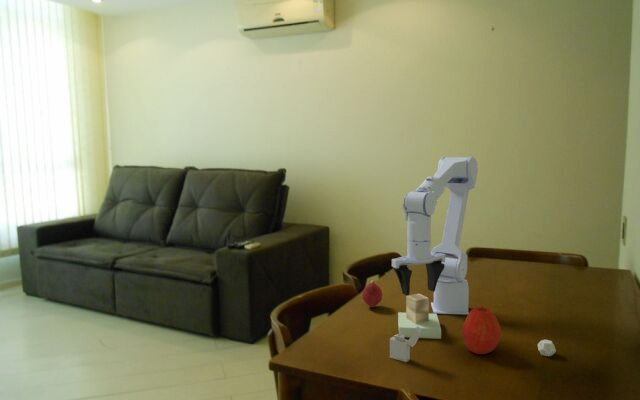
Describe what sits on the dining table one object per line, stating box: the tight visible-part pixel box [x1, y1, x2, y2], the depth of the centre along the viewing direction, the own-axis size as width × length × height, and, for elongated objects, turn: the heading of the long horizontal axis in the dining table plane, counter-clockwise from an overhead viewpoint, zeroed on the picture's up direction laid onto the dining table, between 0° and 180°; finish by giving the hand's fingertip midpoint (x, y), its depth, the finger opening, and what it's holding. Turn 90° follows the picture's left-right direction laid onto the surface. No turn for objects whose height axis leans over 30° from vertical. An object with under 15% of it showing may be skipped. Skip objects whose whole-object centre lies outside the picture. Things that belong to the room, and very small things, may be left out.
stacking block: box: [397, 311, 442, 340], centre depth 113 cm, size 10×10×3 cm
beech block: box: [405, 293, 430, 324], centre depth 112 cm, size 4×4×6 cm
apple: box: [462, 305, 502, 355], centre depth 99 cm, size 8×8×11 cm
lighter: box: [389, 326, 423, 363], centre depth 96 cm, size 7×2×8 cm, turn 54°
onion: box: [361, 279, 383, 308], centre depth 129 cm, size 6×6×8 cm
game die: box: [537, 338, 557, 357], centre depth 98 cm, size 4×4×3 cm
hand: (418, 292), depth 112 cm, fingers open, 7 cm apart
